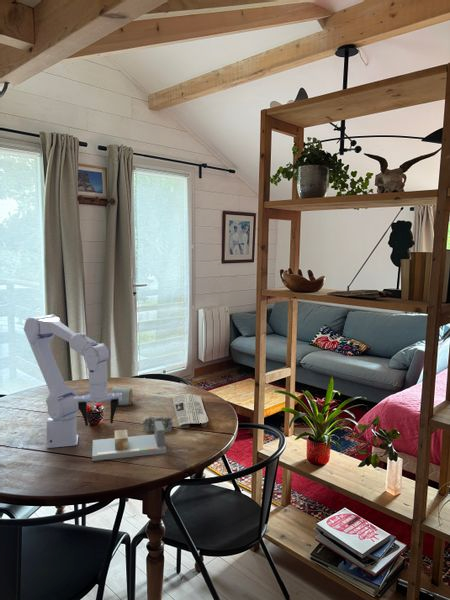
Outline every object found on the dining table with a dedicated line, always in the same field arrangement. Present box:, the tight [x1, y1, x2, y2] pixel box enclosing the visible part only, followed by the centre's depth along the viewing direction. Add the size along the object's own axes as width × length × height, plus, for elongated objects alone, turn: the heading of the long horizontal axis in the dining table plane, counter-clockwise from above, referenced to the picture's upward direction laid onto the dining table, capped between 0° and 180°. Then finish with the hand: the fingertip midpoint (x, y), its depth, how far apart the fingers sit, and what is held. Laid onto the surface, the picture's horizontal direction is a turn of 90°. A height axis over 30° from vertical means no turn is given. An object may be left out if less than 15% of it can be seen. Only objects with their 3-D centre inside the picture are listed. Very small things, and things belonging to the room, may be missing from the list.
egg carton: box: [142, 416, 174, 433], centre depth 161 cm, size 11×8×4 cm
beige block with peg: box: [114, 429, 129, 451], centre depth 143 cm, size 4×9×4 cm, turn 16°
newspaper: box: [171, 393, 209, 429], centre depth 179 cm, size 35×12×4 cm, turn 11°
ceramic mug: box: [111, 386, 133, 407], centre depth 187 cm, size 11×8×8 cm
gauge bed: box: [91, 421, 167, 462], centre depth 144 cm, size 23×12×7 cm, turn 106°
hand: (99, 423), depth 141 cm, fingers open, 7 cm apart
